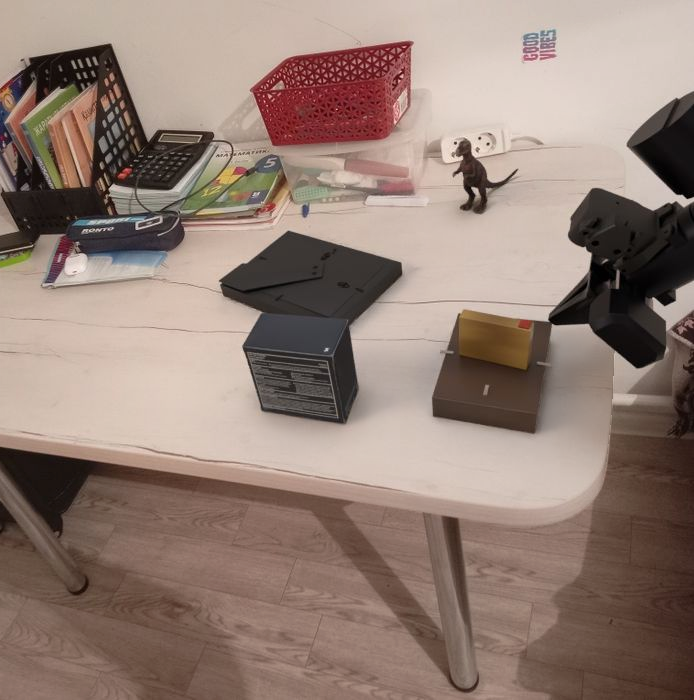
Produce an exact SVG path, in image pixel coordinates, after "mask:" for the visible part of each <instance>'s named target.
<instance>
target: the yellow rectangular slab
mask: <svg viewBox="0 0 694 700" xmlns="http://www.w3.org/2000/svg"><path fill="white" fill-rule="evenodd" d="M460 313H461V315H460V316H459V355H463V356H467V357H472V358H476V359H480V360H485V361H489V362H493V363H498V364H502V365H506V366H511V367H515V368H519V369H524V370H527V368H528V366H529V363H530V360H531V350H532V340H533V331H534V322H532V321H530V320H531V319H526V320H525V318H515V317H508V316H503V315H498V314H492V313H487V312H482V311H478V310H477V311H476V310H471V309H466V308H464V309H462V311H461V312H460ZM514 318H515V319H514ZM519 319H521V320H519Z"/></svg>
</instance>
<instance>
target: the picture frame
mask: <svg viewBox="0 0 694 700" xmlns="http://www.w3.org/2000/svg"><path fill="white" fill-rule="evenodd" d="M402 275H403V266H402V261H398V260H394V259H391V258H387V257H384V256H380V255H377V254H373V253H370V252H366V251H363V250H359V249H356V248H352V247H348V246H345V245H342V244H337V243H336V242H335V243H334V242H331V241H328V240H324V239H320V238H317V237H313V236H310V235H306V234H303V233H299V232H295V231H292V230H287V231H285V232H284V233H283V234H282V235H280V236H279V237H278V238H277V239H276V240H274V241H273V242H271V244H269V245H268V246H266V247H265V248H264V249H263V250H262V251H260V252H258V254H257V255H255V256H254V257H253V258H251V259H250V260H249V261H247V262H244V263H243V262H241V263H240V264H239V265H237V266H236V267H234V268H233V269H232V270H231V271H230V272H228V273H227V274H225V275H223V277H221V278H220V279H219V280H218V282H219V286H220V290H221V293H222V296H224V297H226V298H228V299H231V300H233V301H235V302H238V303H239V304H240V303H241V304H243V305H245V306H248V307H250V308H253V309H254V310H258V311H260V312H261V313H270V314H283V315H295V316H308V317H321V318H335V319H348V321H349V326H350V325H352V323H354V322H355V320H357V319H358V318H359V316H361V315H362V314H363V313H364V312H365V311H366V310H368V308H369V307H370V306H371V305H372V304H374V302H375V301H376V300H378V298H379V297H381V295H383V294H384V293H385V292H386V291H387V290H388V289H389V288H390V287H391V286H392V285H393V284H394V283H395V282H396V281H398V279H400V277H401V276H402Z"/></svg>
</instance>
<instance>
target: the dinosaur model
mask: <svg viewBox="0 0 694 700" xmlns="http://www.w3.org/2000/svg"><path fill="white" fill-rule="evenodd" d="M454 154H455V157H457V158H460V157H462V160H461V161H460V163H459V166H458V168H457V169H456V170H455V171H453V172H452V178H455V177H456V176H457V175H459V174H460V173H462V179H463V180H462V187H463V190H464V191H465V193H466V194H467V195H468V199H467V201H466V202H465V203H463V204H460V207H459V208H460V210H463V211H466V210H467V211H468V210H470V209H471V208H472V206H473V205H474V202H475V199H476V197H477V195H476V193H475V192H474V190H473V188H475V189H477V190H478V195H479V196H480V200H479V203H478V204H477V205H476V206H474V207H473V209H472V212H474V214H482V213H483V212H485V210H486V208H487V205H488V204H487V203H488V201H489V200H488V196H487V190H489V189H495V188H499V187H501V186H504V185H505V183H507V182H508V181H510V179H512V178H513V177H514V176H515V175H516V173H517V172H518V171H519V170H520V169H519V168H516V169H515V170H514V171H512V172H511V173H510V174H509V175H508V176H507V177H506V178H505V179H503V180H501V181H497V182H492V181H491V180H489V179H488V172H487V169H486V168H485V166H484V165H483V163H482V162H481V161H480V160H478V159H477V158H476V156H474V155H473V152H472V142H471V141H470V140H468V139H465V140H460V141H459V142H458V146H457V147H456V149H455V151H454Z"/></svg>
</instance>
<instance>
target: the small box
mask: <svg viewBox="0 0 694 700" xmlns="http://www.w3.org/2000/svg"><path fill="white" fill-rule="evenodd" d="M241 348H242V351H243V353H244V356H245V359H246V361H247V366H248V369H249V372H250V375H251V379H252V381H253V385H254V389H255V392H256V396H257V398H258V402H259V406H260V410H261V411H263V412H268V413H274V414H281V415H287V416H292V417H298V418H305V419H312V420H318V421H324V422H329V423H330V422H331V423H337V424H343V425H344V424H345V423H346V422H347V421H348V418H349V415H350V411H351V409H352V406H353V403H354V400H355V399H356V397H357V394H358V391H359V386H360V385H359V382H358V376H357V368H356V362H355V356H354V350H353V343H352V335H351V329H350V325H349V321H348V319H335V318H321V317H308V316H295V315H283V314H270V313H265V312H261V313H260V315H259V317H258V318H257V320H256V321H255V323H254V325H253V326H252V328H251V330H250V331H249V334H248V335H247V337H246V338H245V341H244V342H243V344H242V345H241Z"/></svg>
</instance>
